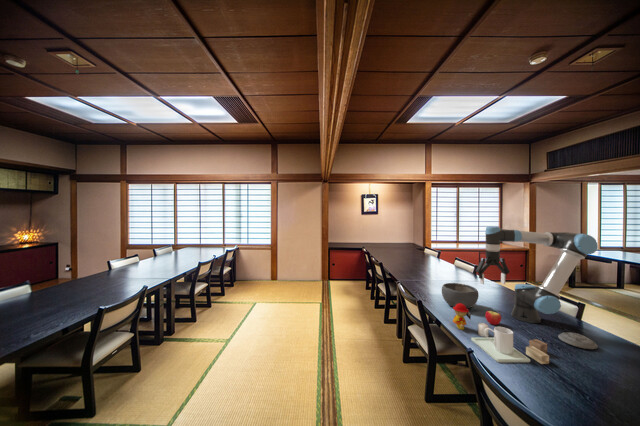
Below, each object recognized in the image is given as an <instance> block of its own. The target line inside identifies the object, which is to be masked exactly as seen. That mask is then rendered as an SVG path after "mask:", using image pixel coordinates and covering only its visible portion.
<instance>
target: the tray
mask: <svg viewBox="0 0 640 426" xmlns="http://www.w3.org/2000/svg"><path fill="white" fill-rule="evenodd" d="M488 338H489V339H490V340H492V341H493V342H494V337H488ZM470 340H471V342H472V343H474V344H475V346H478V348H479V349H481V350H482V351H484V352H485V353H486V354H487V356H489V357H490V358H492V359H493V360H494V361H495V362H496V363H531V358H529V356H528V357H527V356H526V354H523V353H522V352H520V351H519V350H517V349H516V348H515V347H513V354H504V353H501V352H498V351H497V350H496V349H495V348H494V343H492V342H491V341H490V340H488V339H487V337H470Z"/></svg>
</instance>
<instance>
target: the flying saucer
mask: <svg viewBox="0 0 640 426" xmlns="http://www.w3.org/2000/svg"><path fill="white" fill-rule="evenodd" d="M557 337H558V339H559V340H560V341H562V342H564V343H566V344H567V345H571V346H573V347H576V348H581V349H585V350H596V349H598V344H596V342H595V341H594V340H593V339H591V338H590V337H587V336H585V335H583V334H580V333H576V332H570V331H569V332H566V331H565V332H561V333H560V334H558V336H557Z"/></svg>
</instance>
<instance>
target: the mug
mask: <svg viewBox="0 0 640 426" xmlns="http://www.w3.org/2000/svg"><path fill="white" fill-rule="evenodd" d="M486 330H488V331H491V332H492V333H493V338H494V342H493V341H492V340H490V339H489V338H490V337H489V335H488V336H487V335H486ZM484 332H485V336H486V337H485V338H487V339H488V340H490V341H491V342H492V343H494V348H495V349H496V350H497V351H498V352H501V353H504V354H513V348H514V331H512V329H510V328H507V327H503V326H495V327H494V329H492V328H490V327H488V328H486V329H485V330H484Z"/></svg>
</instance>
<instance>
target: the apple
mask: <svg viewBox="0 0 640 426" xmlns="http://www.w3.org/2000/svg"><path fill="white" fill-rule="evenodd" d="M489 309H490V310H487V311H486V312H485V315H484V316H485V319H486V321H487V322H488V323H489V324H490V325H493V326H494V325H495V326H497V325H499V324H500V323H501V322H502V315H501V314H500V313H498V312H495V311H493V310H492V309H491V308H489Z"/></svg>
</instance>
